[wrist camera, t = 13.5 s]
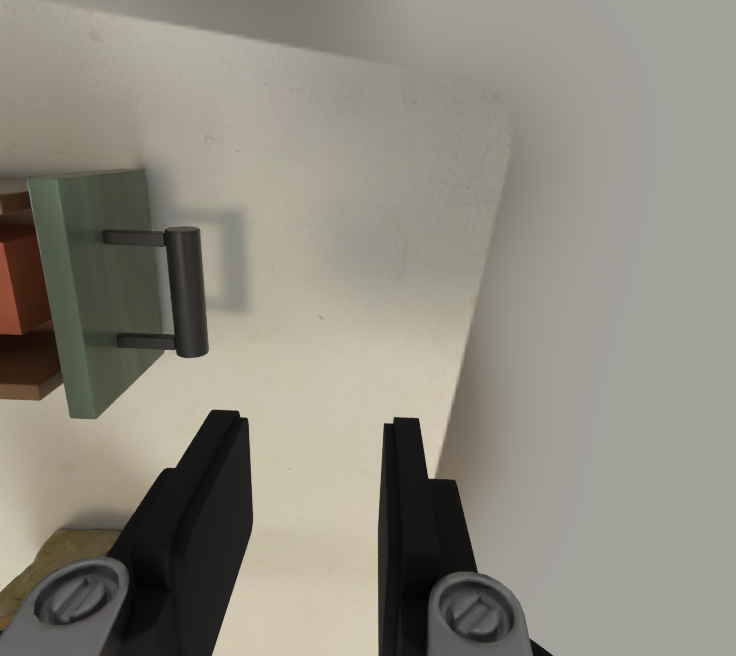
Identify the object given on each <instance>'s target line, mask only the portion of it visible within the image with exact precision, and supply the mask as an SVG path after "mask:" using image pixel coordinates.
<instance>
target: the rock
mask: <svg viewBox="0 0 736 656" xmlns="http://www.w3.org/2000/svg"><path fill="white" fill-rule="evenodd" d="M120 534H121V531H119V530H98V529H94V530H83V531H76V530H71V529H66V530H59V531H56V532H54V533H53V534H52V536H51V537H50V538H49V539H48V540H47V541H46V542H45V543H44V545H43V546H42V547H41V549H40V551H39V552H38V554H37V556H36V558H35V559H34V562H33V563H32V564H31V565H29V566H28V567H27V568H26V569H25V570H24V571H23V572H22V573H21V574H20V575H19V576H17V577H16V578H15V579H14V580H13V581H12V582H10V583H9V584H8V585H7V586H6V587H5V588H4V589H3V590H2V591H1V592H0V631H2V630H4V629H5V628H6V626H7V625H8V623H9V622H10V620H11V619H12V617H13V616H14V614H15V613H16V611H17V610H18V608H19V606H20V605H21V603H22V602H23V600H24V599H25V597H26V596H27V594H28V593H29V592H30V591H31V590H32V588H33V587H34V586H35V585H36V584H37V583H38V582H39V581H40V580H41V579H43V578H44V577H45V576H46V575H48V574H49V573H50V572H52V571H53V570H55V569H57V568H59V567H61V566H63V565H65V564H67V563H70V562H73V561H76V560H79V559H82V558H88V557H95V556H101V557H105V556H106V555H107V553H108V552H109V550H110V549H111V547H112V546H113V544H114V543H115V541H116V540H117V538H118V537H119V535H120Z"/></svg>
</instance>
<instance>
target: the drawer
mask: <svg viewBox="0 0 736 656" xmlns="http://www.w3.org/2000/svg"><path fill="white" fill-rule="evenodd" d="M0 225H17V226H35V228H36V234H37V239H38V245H39V250H40V255H41V261H42V266H43V272H44V277H45V283H46V288H47V294H48V299H49V305H50V310H51V315H52V319H51V320H49V321H47V322H45V323H43V324H41V325H39V326H37V327H36V328H34V329H32V330H30V331H28V332H26V333H24V334H22V335H13V334H0V399H13V400H37V401H39V400H42V399H43V398H44V397H46V396H47V395H48V394H50V393H51V392H52V391H54V390H55V389H56V388H58V387H59V386H60V385H62V384H63V383H64V386H65V392H66V397H67V403H68V408H69V414H70V418H79V419H97V418H98V417H99V416H100V415H101V414H102V413H103V412H104V411H105V410H106V409H107V408H108V407H109V406H110V405H111V404H112V403H113V402H114V401H115V400H116V399H117V398H118V397H119V396H120V395H121V394H123V393H124V392H125V391H126V390H127V389H128V388H129V387H130V386H131V385H132V384H133V383H134V382H135V381H136V380H137V379H138V378H139V377H140V376H141V375H142V374H143V373H144V372H145V371H146V370H147V369H148V368H149V367H150V366H151V365H152V364H153V363H154V362H155V361H156V360H157V359H158V358H159V357H160V356H161V355H162V354H163V353H164V350H175V349H176V353H177V355H178V356H180V357H183V358H196V357H201V356H203V355H206V354H207V353H208V351H209V345H208V332H207V318H206V305H205V291H204V278H203V264H202V251H201V237H200V229H199V228H196V227H188V226H179V227H169V228H166V229H165V232H162V231H151V223H150V214H149V204H148V195H147V185H146V176H145V170H144V169H113V170H102V171H91V172H80V173H69V174H57V175H46V176H35V177H27V179H13V178H0ZM153 246H159V247H164V246H166V251H167V262H168V272H169V282H170V292H171V303H172V313H173V323H174V333H175V335H172V334H162V326H161V317H160V308H159V298H158V289H157V279H156V270H155V261H154V251H153Z"/></svg>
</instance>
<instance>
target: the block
mask: <svg viewBox="0 0 736 656" xmlns="http://www.w3.org/2000/svg"><path fill="white" fill-rule="evenodd" d="M51 319H52V315H51V310H50V305H49V299H48V294H47V288H46V283H45V277H44V272H43V266H42V261H41V255H40V250H39V245H38V239H37V234H36V228H35V226H17V225H0V334H13V335H22V334H24V333H26V332H28V331H30V330H32V329H34V328H36V327H37V326H39V325H41V324H43V323H45V322H47V321H49V320H51Z"/></svg>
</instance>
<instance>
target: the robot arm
mask: <svg viewBox="0 0 736 656" xmlns="http://www.w3.org/2000/svg"><path fill="white" fill-rule="evenodd" d="M252 525H253V506H252V485H251V464H250V443H249V424H248V419H247V418H242V417H240V414H239V412H238V411H231V410H212V411H211V412H210V413H209V415H208V416H207V418H206V420H205V421H204V423H203V424H202V426H201V428H200V429H199V431H198V432H197V434H196V436H195V437H194V439H193V440H192V442H191V444H190V445H189V447H188V448H187V450H186V452H185V453H184V455H183V456H182V458H181V460H180V461H179V463H178V464H177V466H176V468H166V469H164V470H163V471H162V472H161V473H160V475H159V476H158V478H157V479H156V481H155V482H154V484H153V485H152V487H151V488H150V490H149V491H148V493H147V494H146V496H145V497H144V499H143V500H142V502H141V503H140V505H139V506H138V508H137V509H136V511H135V512H134V514H133V516H132V517H131V519H130V520H129V522H128V523H127V525H126V526H125V528H124V529H123V531H122V532H121V534H120V535H119V537H118V538H117V540H116V541H115V543H114V544H113V546H112V547H111V549H110V550H109V552H108V553H107V555H106V556H105V557H101V556H95V557H88V558H82V559H79V560H76V561H73V562H70V563H67V564H65V565H63V566H61V567H59V568H57V569H55V570H53V571H52V572H50V573H49V574H48V575H46V576H45V577H44V578H43V579H41V580H40V581H39V582H38V583H37V584H36V585H35V586H34V587H33V588H32V590H31V591H30V592H29V593H28V594H27V596H26V597H25V599H24V600H23V602H22V603H21V605H20V606H19V608H18V610H17V611H16V613H15V614H14V616H13V617H12V619H11V620H10V622H9V623H8V625H7V626H6V628H5V629H4V630H2V631H0V656H212V653H213V650H214V647H215V644H216V641H217V638H218V635H219V632H220V629H221V625H222V622H223V619H224V616H225V613H226V610H227V607H228V604H229V601H230V597H231V594H232V591H233V588H234V585H235V582H236V579H237V576H238V573H239V570H240V566H241V563H242V560H243V557H244V554H245V551H246V548H247V545H248V542H249V539H250V535H251V531H252ZM378 642H379V656H553V655H552V654H550V653H549V652H548V651H546V650H545V649H544V648H542V647H541V646H539V645H538V644H537V643H535V642H534V641H533V640H531V639H530V638H529V634H528V629H527V625H526V620H525V616H524V612H523V610H522V607H521V605H520V602H519V601H518V599H517V598H516V597H515V595H514V594H513V593H512V591H511V590H509V589H508V588H507V587H506V586H504V585H503V584H502V583H501V582H499V581H497V580H495V579H493V578H491V577H489V576H487V575H484V574H480V573H478V571H477V567H476V563H475V558H474V554H473V550H472V546H471V542H470V538H469V533H468V529H467V525H466V521H465V517H464V512H463V509H462V504H461V500H460V496H459V491H458V487H457V484H456V481H455V480H448V479H428V473H427V467H426V461H425V454H424V448H423V442H422V435H421V429H420V423H419V418H401V417H394V420H393V424H388V423H384V431H383V449H382V467H381V485H380V503H379V521H378Z"/></svg>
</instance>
